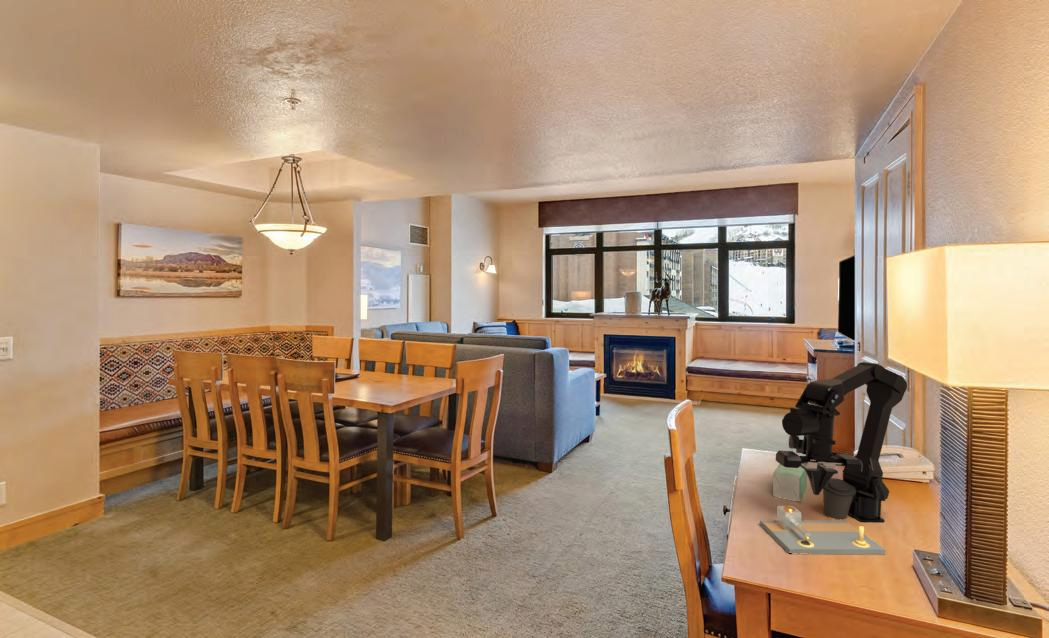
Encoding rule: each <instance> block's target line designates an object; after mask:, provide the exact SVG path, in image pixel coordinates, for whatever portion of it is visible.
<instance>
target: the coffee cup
mask: <svg viewBox="0 0 1049 638" xmlns="http://www.w3.org/2000/svg"><path fill="white" fill-rule="evenodd" d="M856 492H857V491H856V489H855V487H854V486H852V485H850V484H848V483H846V482H845V481H844V480H843V479H841V478H836V477H831V478H830V480H829V481H828V482H827V483H826V485H825V486H824V488H823V489H822V497H823V498H822V499H823V500H822V502H823V507H822V509H823V515H825V516H826V517H828V518H830V517H831V518H830V519H833V518H834V519H835V520H838V521H844V520H846V519H847V518H848V515H849V513H848V512H849V509H850V505H851V502H852V499H853V496H854V495H855V494H856ZM840 519H841V520H840Z"/></svg>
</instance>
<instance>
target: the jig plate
mask: <svg viewBox="0 0 1049 638" xmlns="http://www.w3.org/2000/svg"><path fill="white" fill-rule="evenodd" d="M759 525H760V527H761V528H763V530H765V532H766V533H767V534H768V535H770V537H772V539H773V540H775V541H776V543H778V545H780V546H781V547H782V548H783V550H785V551H786V552H787V553H788V554H789V553H811V554H810V555H869V556H870V555H872V556H873V555H878V556H879V555H880V556H881V555H885V554H886V549H885V548H884V547H882V546H881V545H880V544H878V543H877V542H875V541H874V540H872V539H871V538H870V537H868V536H867V535H865V526H863V525H858V528H856V527H855V526H853V525H852V524H851V523H849V522H847V521H846V520H801V526H802V527H803V528H804V529H806V530H807V531H808V532H809V533H810V537H809V543H808V542H805V536H804V535H802V534H801V533H800V532H799V531H787V530H784V529H782V528H781V527H780V526H779V525H778V524H777V519H775V520H771V519H768V520H765V519H762V520H761V519H760V520H759Z"/></svg>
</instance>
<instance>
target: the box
mask: <svg viewBox="0 0 1049 638" xmlns="http://www.w3.org/2000/svg"><path fill="white" fill-rule="evenodd" d="M807 477H808V475H807V473H806V471H805V470H804V469H803V468H802V467H799V468H787V467H784V466H782V465H781V464H780V463H779V464H778V465H777V467H776V468H775V470H774V471H773V475H772V479H773V480H772V496H773V497H774V496H776V497H775V498H778V497H781V498H780V499H783V498H786V499H785V500H787V499H791V500H790V501H792V500H795V501H794V502H797V501H798V502H800V501H801V499H802V498H803V496H804V493H805V492H806V489H807V486H808V485H807V483H808V482H807V479H808V478H807Z"/></svg>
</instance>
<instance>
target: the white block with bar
mask: <svg viewBox="0 0 1049 638" xmlns="http://www.w3.org/2000/svg"><path fill="white" fill-rule="evenodd" d="M776 509H777V510H776V520H777V524H778V525H779V526H780V527H781V528H782V529H784V530H787V531H799V532H800V533H801V534H802V535H804V536H805V542H808V543H809V537H810V533H809V532H808V531H807V530H806V529H804V528H803V527H802V526H801V521H802V511H800V510H799V509H797V508H796V507H795V506H793V505H777V507H776Z"/></svg>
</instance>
